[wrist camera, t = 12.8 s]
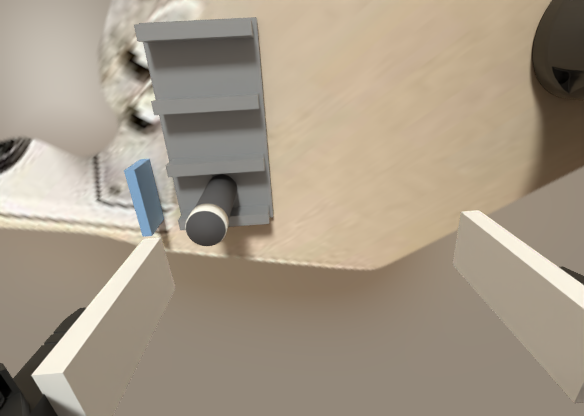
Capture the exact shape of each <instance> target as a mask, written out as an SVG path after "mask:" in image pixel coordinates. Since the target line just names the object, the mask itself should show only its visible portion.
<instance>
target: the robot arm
mask: <svg viewBox="0 0 584 416" xmlns="http://www.w3.org/2000/svg"><path fill="white" fill-rule="evenodd" d="M533 64H534V69H535V73H536V76H537V78H538V80H539V82H540V83H541V85H542V86H543V87H544V88H545V89H546V90H547V91H548V92H550V93H551V94H553V95H555V96H558V97H561V98H567V99H578V100H584V0H552V2H551V3H550V5H549V6H548V8H547V10H546V11H545V13H544V15H543V17H542V19H541V21H540V24H539V26H538V29H537V32H536V36H535V41H534V47H533ZM453 266H454V267H456V269H457V270H458V271H459V272H460V273H461V275H462V276H463V277H464V278H465V279H466V280H467V282H468V283H469V284H470V285H471V286H472V287H473V288H474V289H475V291H476V292H477V293H478V294H479V295H480V296H481V298H482V299H483V300H484V301H485V302H486V303H487V304H488V306H489V307H490V308H491V309H492V310H493V311H494V312H495V314H496V315H497V316H498V317H499V318H500V319H501V320H502V321H503V323H504V324H505V325H506V326H507V327H508V328H509V329H510V331H511V332H512V333H513V334H514V335H515V336H516V337H517V339H518V340H519V341H520V342H521V343H522V344H523V345H524V347H525V348H526V349H527V350H528V351H529V352H530V353H531V355H532V356H533V357H534V358H535V359H536V360H537V361H538V363H539V364H540V365H541V366H542V367H543V368H544V369H545V371H546V372H547V373H548V374H549V375H550V376H551V377H552V379H553V380H554V381H555V382H556V383H557V384H558V385H559V387H560V388H561V389H562V390H563V391H564V392H565V393H566V395H567V396H568V397H569V398H570V399H571V400H572V401H573V402H574V403H583V402H584V276H582V275H580V274H578V273H576V272H574V271H571V270H569V269H567V268H565V267H557V266H556V265H555V264H553V263H552V262H551V261H549V260H548V259H546V258H545V257H543V256H542V255H541V254H539V253H538V252H536V251H535V250H534V249H532V248H531V247H529V246H528V245H527V244H525V243H524V242H522V241H521V240H520V239H518V238H517V237H515V236H514V235H513V234H511V233H510V232H508V231H507V230H506V229H504V228H503V227H501V226H500V225H498V224H497V223H496V222H494V221H493V220H492V219H490V218H489V217H487V216H486V215H485V214H483V213H482V212H480V211H479V210H476V211H465V212H461V215H460V222H459V228H458V234H457V242H456V247H455V254H454V260H453ZM174 290H175V285H174V281H173V277H172V274H171V271H170V267H169V263H168V260H167V257H166V253H165V250H164V246H163V243H162V239H161V237H159V238H148V239H143V240H142V241H141V243H140V244H139V245H138V246H137V247H136V249H135V250H134V251H133V252H132V254H131V255H130V256H129V257H128V258H127V260H126V261H125V262H124V264H122V266H121V267H120V268H119V269H118V271H117V272H116V273H115V274H114V275H113V277H112V278H111V279H110V280H109V282H108V283H107V284H106V285H105V286H104V288H103V289H102V290H101V291H100V292H99V294H98V295H97V296H96V297H95V298H94V300H93V301H92V302H91V303H90V305H89V306H88V307H87V308H80V309H78V310H77V311H75V312H74V313H73V314H71V315H70V316H69V317H67V318H66V319H65V320H64V321H63V322H62V323H61V324H60V325H59V327H58V328H57V329H56V330H55V331H54V334H53V335H51V336H50V337H49V338H48V339H47V340H46V342H45V343H44V345H43V346H41V347H40V348H39V350H38V351H37V352H36V353H35V354H34V355H33V356H32V358H31V359H30V360H29V361H28V362H27V363H26V364H25V366H24V367H23V368H22V369H21V370H20V371H19V372H18V374H17V375H16V376H15V377H14V378H12V377H11V376H10V374H9V372H8V371H7V369H6V368H5V366H4V365H3V364H2V363H0V416H113V415H114V413H115V411H116V409H117V407H118V405H119V403H120V401H121V399H122V397H123V395H124V392H125V390H126V388H127V386H128V384H129V382H130V380H131V378H132V376H133V374H134V372H135V370H136V368H137V366H138V364H139V362H140V360H141V358H142V356H143V353H144V351H145V350H146V347H147V346H148V343H149V342H150V339H151V337H152V335H153V333H154V331H155V329H156V327H157V325H158V323H159V321H160V319H161V317H162V315H163V313H164V311H165V309H166V307H167V305H168V303H169V301H170V299H171V297H172V294H173V292H174Z"/></svg>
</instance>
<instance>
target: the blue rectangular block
mask: <svg viewBox="0 0 584 416" xmlns="http://www.w3.org/2000/svg"><path fill="white" fill-rule="evenodd" d="M124 172H125V176H126V179H127V183H128V186H129V190H130V193H131V197H132V200H133V204H134V207H135V211H136V214H137V218H138V221H139V225H140V228H141V232H142V235H143V236H152V235H153V234H154V232H155V231H156V230H157V228H158V227H159V225H160V224H161V223H162V221H163V220H164V217H163V213H162V209H161V205H160V200H159V196H158V192H157V188H156V184H155V180H154V176H153V172H152V168H151V164H150V160H149V159H141V160H139V161H137V162H136V163H134V164H133V165H131V166H130V167H129V168H127V169H126V170H124Z"/></svg>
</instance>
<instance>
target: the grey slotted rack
mask: <svg viewBox="0 0 584 416" xmlns="http://www.w3.org/2000/svg"><path fill="white" fill-rule="evenodd" d="M134 28H135V32H136V37H137V41H139V42H143V44H144V48H145V53H146V57H147V62H148V67H149V71H150V76H151V80H152V85H153V89H154V94H155V98H156V100H154V101H151V103H152V107H153V112H154V115H159V117H160V121H161V126H162V130H163V135H164V139H165V144H166V149H167V153H168V158H169V163H168V164H167V165H166V169H167V174H168V177H173V180H174V185H175V190H176V194H177V199H178V203H179V208H180V212H181V216H180V218H179V220H178V223H179V227H180V230H186V229H185V224H186V220H187V219H188V217H189V215H190V213H191V211H192V210H193V209H194V208H195V206H196V204H197V203H198V201H199V199H200V197H201V195H202V193H203V192H204V190H205V188H206V186H207V184H208V183H209V181H210V179H211V178H212V177H214V176H216V175H219V174H224V175H228V176H230V177H231V178H232V179H233V180H234V181H235V182H236V185H237V193H236V197H235V200H234V204H233V207H232V211H231V214H230V218H229V224H228V227H232V226H245V225H259V224H269V217H273V207H272V195H271V183H270V171H269V159H268V148H267V136H266V124H265V112H264V100H263V88H262V76H261V65H260V53H259V41H258V29H257V18H256V17H254V18H234V19H214V20H194V21H174V22H154V23H139V24H137V25H134Z"/></svg>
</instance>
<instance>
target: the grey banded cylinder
mask: <svg viewBox="0 0 584 416" xmlns="http://www.w3.org/2000/svg"><path fill="white" fill-rule="evenodd" d="M236 193H237V185H236V182H235V181H234V180H233V179H232V178H231V177H230V176H228V175H224V174H219V175H216V176H214V177H212V178H211V179H210V181H209V183H208V184H207V186H206V188H205V190H204V192H203V193H202V195H201V197H200V199H199V201H198V203H197V204H196V206H195V208H194V209H193V210H192V211H191V213H190V215H189V217H188V219H187V220H186V224H185V229H186V233H187V235H188V236H189V238H190V239H191V240H192V241H193V242H195V243H197V244H199V245H202V246H212V245H215V244H218V243H219V242H221V241H222V240H223V239H224V237H225V235H226V232H227V228H228V224H229V218H230V214H231V211H232V207H233V204H234V200H235V197H236Z"/></svg>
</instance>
